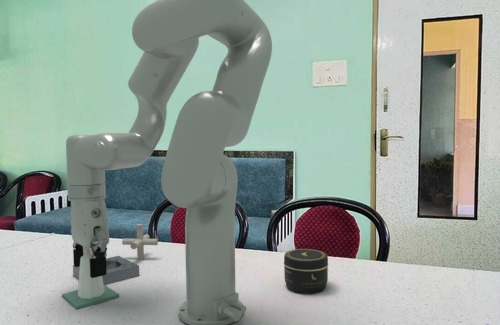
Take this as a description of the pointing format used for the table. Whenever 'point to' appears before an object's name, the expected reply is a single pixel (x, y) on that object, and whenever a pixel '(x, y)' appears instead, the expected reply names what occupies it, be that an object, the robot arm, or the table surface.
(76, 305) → the mat
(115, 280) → the frame
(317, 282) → the jar
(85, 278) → the pepper shaker
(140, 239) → the pipe connector
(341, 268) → the table surface
